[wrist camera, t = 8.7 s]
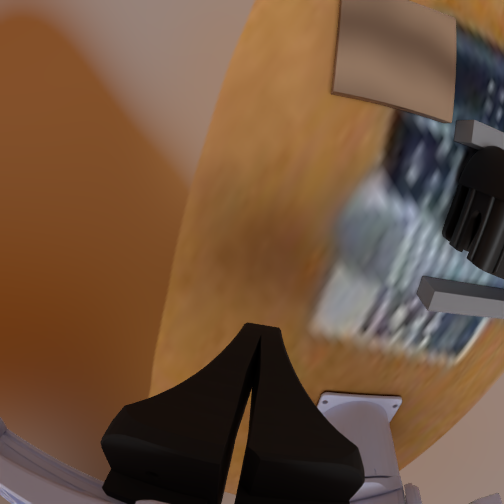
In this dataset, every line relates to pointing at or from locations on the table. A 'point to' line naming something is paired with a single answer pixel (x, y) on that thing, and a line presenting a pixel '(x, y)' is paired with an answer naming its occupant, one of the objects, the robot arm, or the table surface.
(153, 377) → the table surface
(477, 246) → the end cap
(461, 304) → the corral stand
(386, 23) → the walnut stand
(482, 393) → the table surface
